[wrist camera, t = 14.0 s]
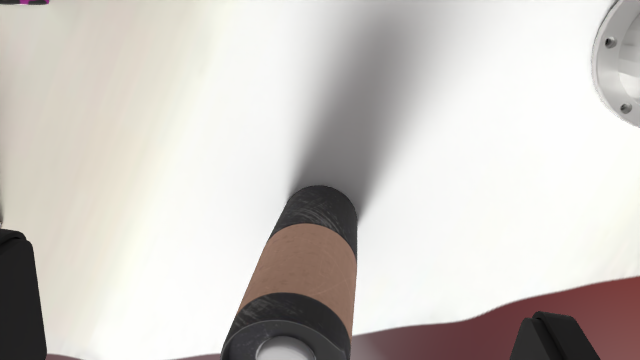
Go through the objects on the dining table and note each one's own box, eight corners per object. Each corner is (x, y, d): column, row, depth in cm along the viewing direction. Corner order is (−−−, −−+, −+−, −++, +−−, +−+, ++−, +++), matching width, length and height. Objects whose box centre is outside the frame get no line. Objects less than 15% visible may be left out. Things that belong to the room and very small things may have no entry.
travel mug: (266, 224, 46) (193, 377, 27) (310, 166, 43) (263, 292, 25) (328, 267, 47) (299, 443, 28) (376, 213, 44) (378, 368, 26)
